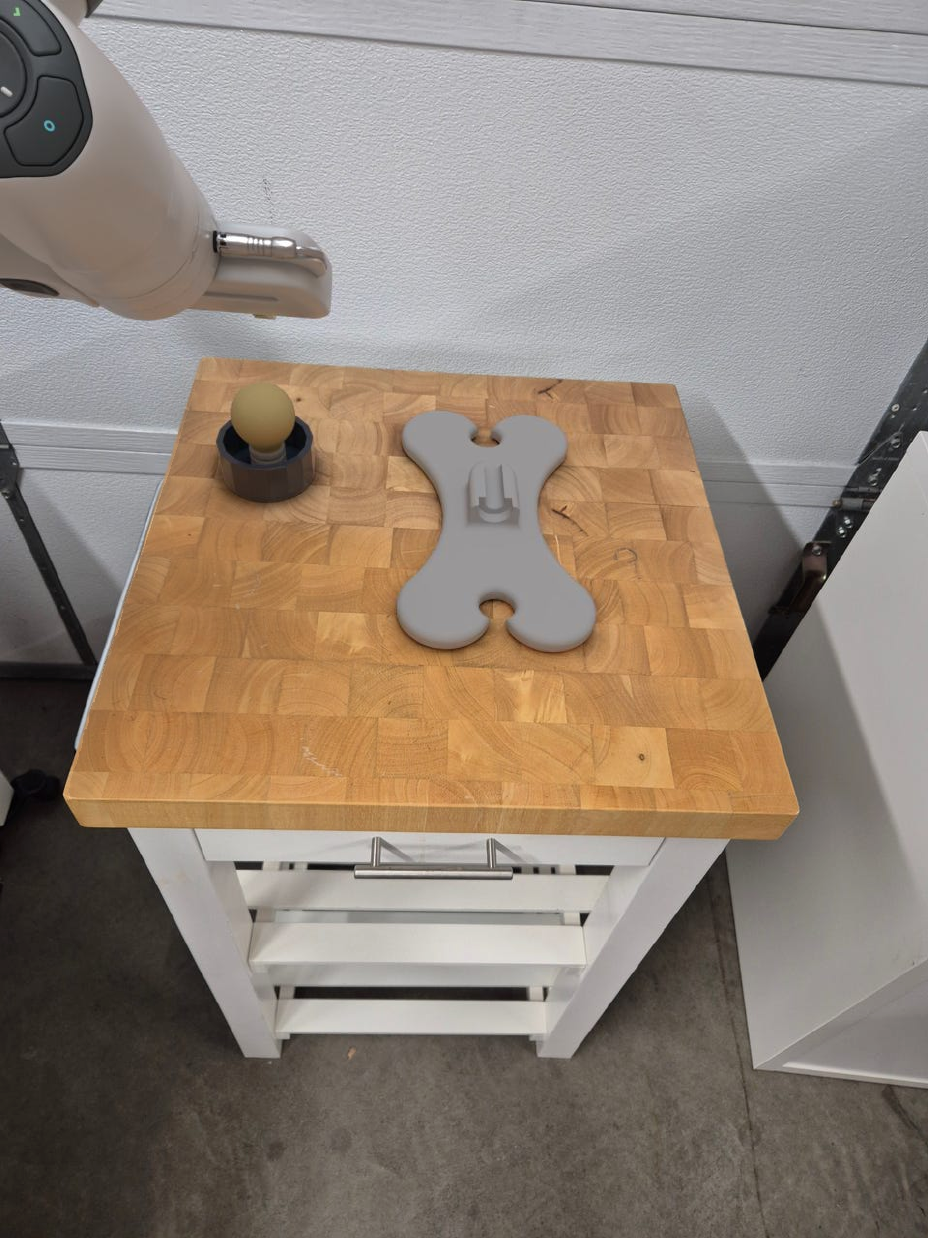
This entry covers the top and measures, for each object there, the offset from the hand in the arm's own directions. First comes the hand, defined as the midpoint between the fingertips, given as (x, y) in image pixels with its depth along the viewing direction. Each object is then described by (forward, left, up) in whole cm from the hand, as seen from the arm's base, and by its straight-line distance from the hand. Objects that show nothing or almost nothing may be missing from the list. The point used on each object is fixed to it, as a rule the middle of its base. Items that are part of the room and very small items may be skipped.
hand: (200, 302), depth 59 cm
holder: (+24, +7, -28) cm, 37 cm away
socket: (0, +13, -27) cm, 30 cm away
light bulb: (0, +13, -27) cm, 30 cm away
